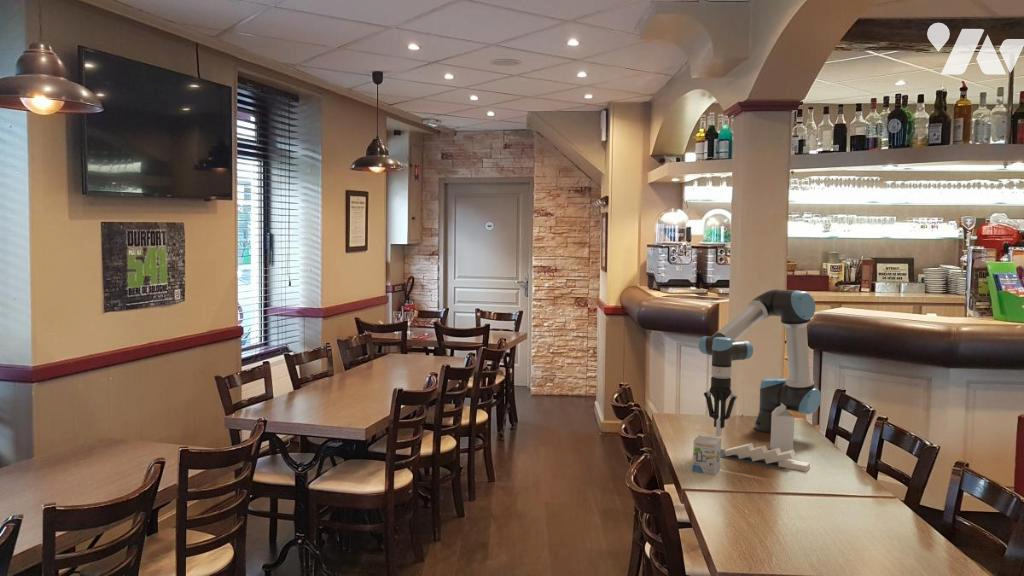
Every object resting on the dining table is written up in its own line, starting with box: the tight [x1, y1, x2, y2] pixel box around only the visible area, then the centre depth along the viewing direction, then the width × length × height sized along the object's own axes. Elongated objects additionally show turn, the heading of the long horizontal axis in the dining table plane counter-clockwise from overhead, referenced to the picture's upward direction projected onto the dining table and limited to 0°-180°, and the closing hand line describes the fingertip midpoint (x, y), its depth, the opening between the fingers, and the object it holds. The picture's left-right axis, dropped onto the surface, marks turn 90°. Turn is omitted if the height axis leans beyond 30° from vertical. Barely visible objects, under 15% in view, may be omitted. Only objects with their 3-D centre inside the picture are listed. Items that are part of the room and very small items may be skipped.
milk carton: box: [770, 403, 795, 453], centre depth 293 cm, size 7×7×19 cm
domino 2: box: [751, 448, 782, 461], centre depth 277 cm, size 5×2×10 cm
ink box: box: [691, 435, 722, 476], centre depth 266 cm, size 8×8×12 cm
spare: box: [724, 442, 755, 456], centre depth 283 cm, size 5×2×10 cm
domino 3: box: [765, 449, 796, 464], centre depth 274 cm, size 5×2×10 cm
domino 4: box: [778, 458, 811, 472], centre depth 271 cm, size 5×2×10 cm
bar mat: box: [720, 448, 786, 471], centre depth 280 cm, size 12×28×1 cm, turn 55°
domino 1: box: [738, 445, 768, 459], centre depth 280 cm, size 5×2×10 cm
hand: (718, 435), depth 287 cm, fingers closed
